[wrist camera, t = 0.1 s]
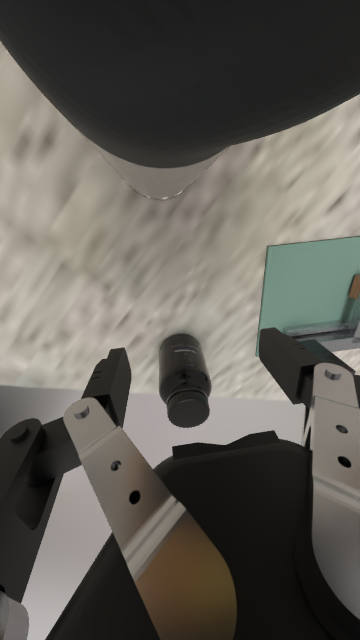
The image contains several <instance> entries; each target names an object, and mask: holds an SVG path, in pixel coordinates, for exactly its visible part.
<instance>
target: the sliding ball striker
mask: <svg viewBox="0 0 360 640" xmlns="http://www.w3.org/2000/svg"><path fill="white" fill-rule="evenodd" d="M349 297H352V298H354V299H356V300H357V302H356V305H355V308H354V311H353V314H352V317H351V320H350V323H349V325H348V328H347V330H346V331H338V332H330V333H323V334H315V335H308V336H300V337H293V338H295V339H296V340H297V341H298V342H299V343H300V344H302V345H303V346H304V347H305V348H306V349H308V350H309V351H310V352H311V353H312V354H314V355H315V356H316V357H317V358H318V359H320V360H321V361H322V362H323V363H331V364H335V365H338V366H341V367H343V368H345V369H346V370H348V371H349V372H350V373H351V374H352V375H354V374H355V372H356V371H354V370H353V369H352V368H351V367H349V366H348V365H347V364H345V363H344V362H343V361H342V360H340V359H339V358H338V357H337V356H335V355H334V354H333V353H331V352H334V351H342V350H349V349H356V348H360V275H355V278H354V281H353V284H352V287H351V290H350V293H349Z"/></svg>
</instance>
